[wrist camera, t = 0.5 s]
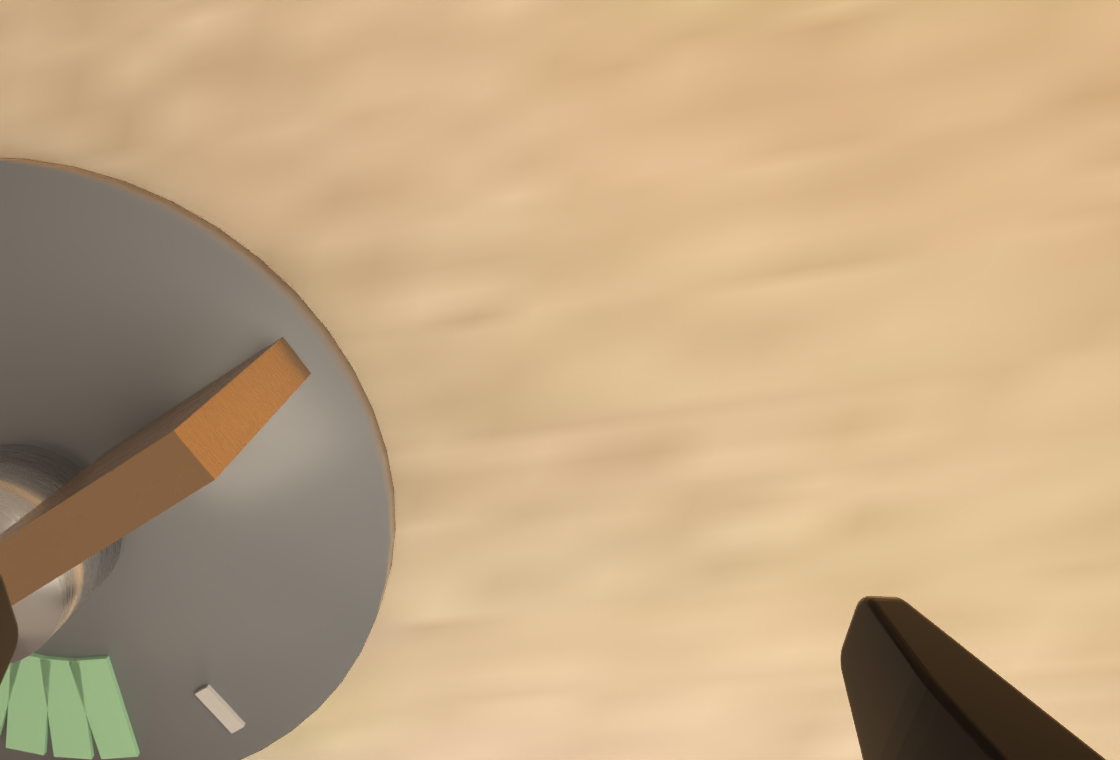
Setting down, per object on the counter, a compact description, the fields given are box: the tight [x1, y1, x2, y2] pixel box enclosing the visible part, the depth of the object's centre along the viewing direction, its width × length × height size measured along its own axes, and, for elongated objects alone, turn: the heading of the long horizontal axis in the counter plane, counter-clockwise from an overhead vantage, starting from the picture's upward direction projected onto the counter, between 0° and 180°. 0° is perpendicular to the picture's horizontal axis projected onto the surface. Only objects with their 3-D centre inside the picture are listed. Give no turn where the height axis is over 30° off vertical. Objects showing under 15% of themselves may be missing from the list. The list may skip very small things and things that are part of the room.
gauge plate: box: [0, 158, 396, 760], centre depth 24 cm, size 20×20×1 cm
